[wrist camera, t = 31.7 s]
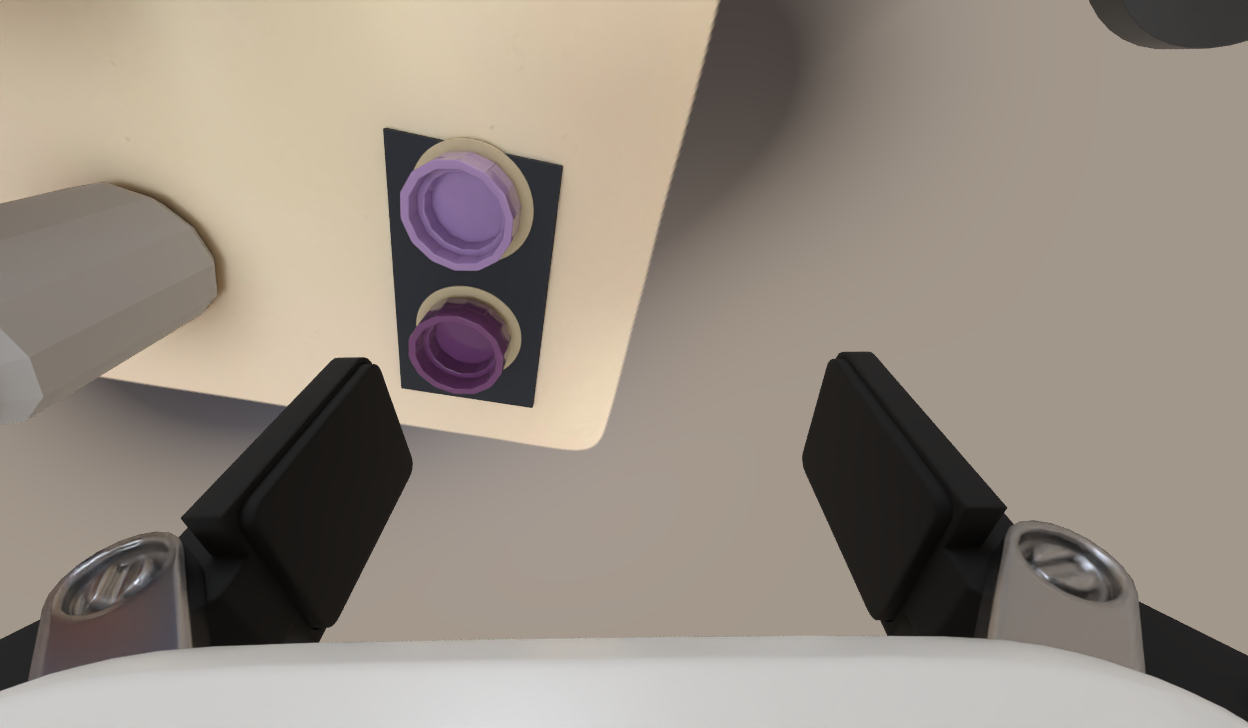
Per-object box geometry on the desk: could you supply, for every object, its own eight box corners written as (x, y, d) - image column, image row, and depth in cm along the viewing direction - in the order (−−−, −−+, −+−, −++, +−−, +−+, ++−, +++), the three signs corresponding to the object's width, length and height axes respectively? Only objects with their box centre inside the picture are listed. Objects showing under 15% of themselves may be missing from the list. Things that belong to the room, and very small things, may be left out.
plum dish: (436, 280, 34) (419, 300, 31) (524, 317, 35) (516, 339, 32) (415, 350, 37) (398, 374, 34) (497, 380, 39) (487, 406, 36)
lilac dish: (433, 129, 28) (412, 137, 25) (537, 181, 30) (528, 194, 27) (409, 226, 31) (388, 242, 29) (504, 268, 33) (494, 287, 30)
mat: (385, 118, 28) (381, 119, 28) (563, 157, 30) (563, 158, 29) (403, 385, 39) (400, 389, 39) (533, 405, 41) (532, 408, 40)
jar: (64, 264, 33) (-394, 434, 18) (75, 144, 29) (-512, 236, 14) (214, 335, 37) (-70, 527, 21) (244, 236, 32) (-85, 390, 17)
